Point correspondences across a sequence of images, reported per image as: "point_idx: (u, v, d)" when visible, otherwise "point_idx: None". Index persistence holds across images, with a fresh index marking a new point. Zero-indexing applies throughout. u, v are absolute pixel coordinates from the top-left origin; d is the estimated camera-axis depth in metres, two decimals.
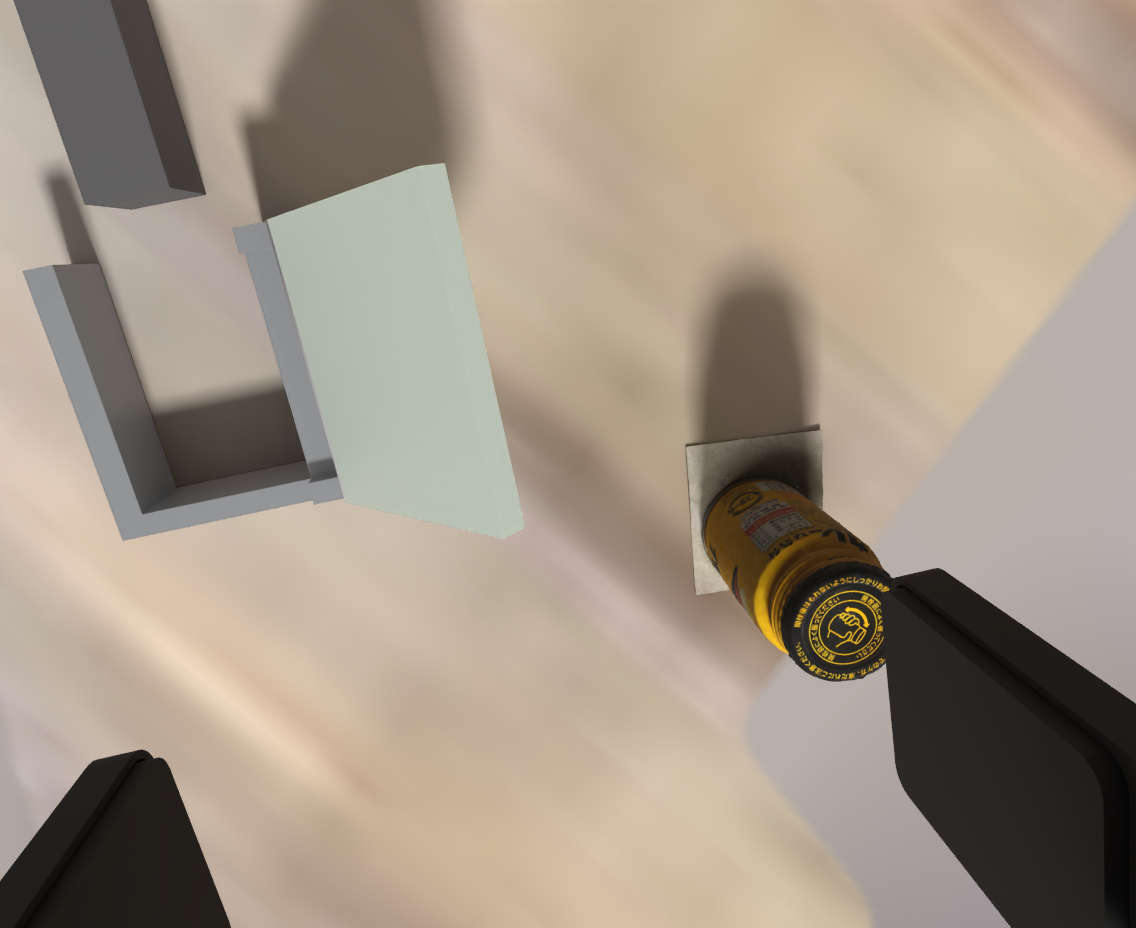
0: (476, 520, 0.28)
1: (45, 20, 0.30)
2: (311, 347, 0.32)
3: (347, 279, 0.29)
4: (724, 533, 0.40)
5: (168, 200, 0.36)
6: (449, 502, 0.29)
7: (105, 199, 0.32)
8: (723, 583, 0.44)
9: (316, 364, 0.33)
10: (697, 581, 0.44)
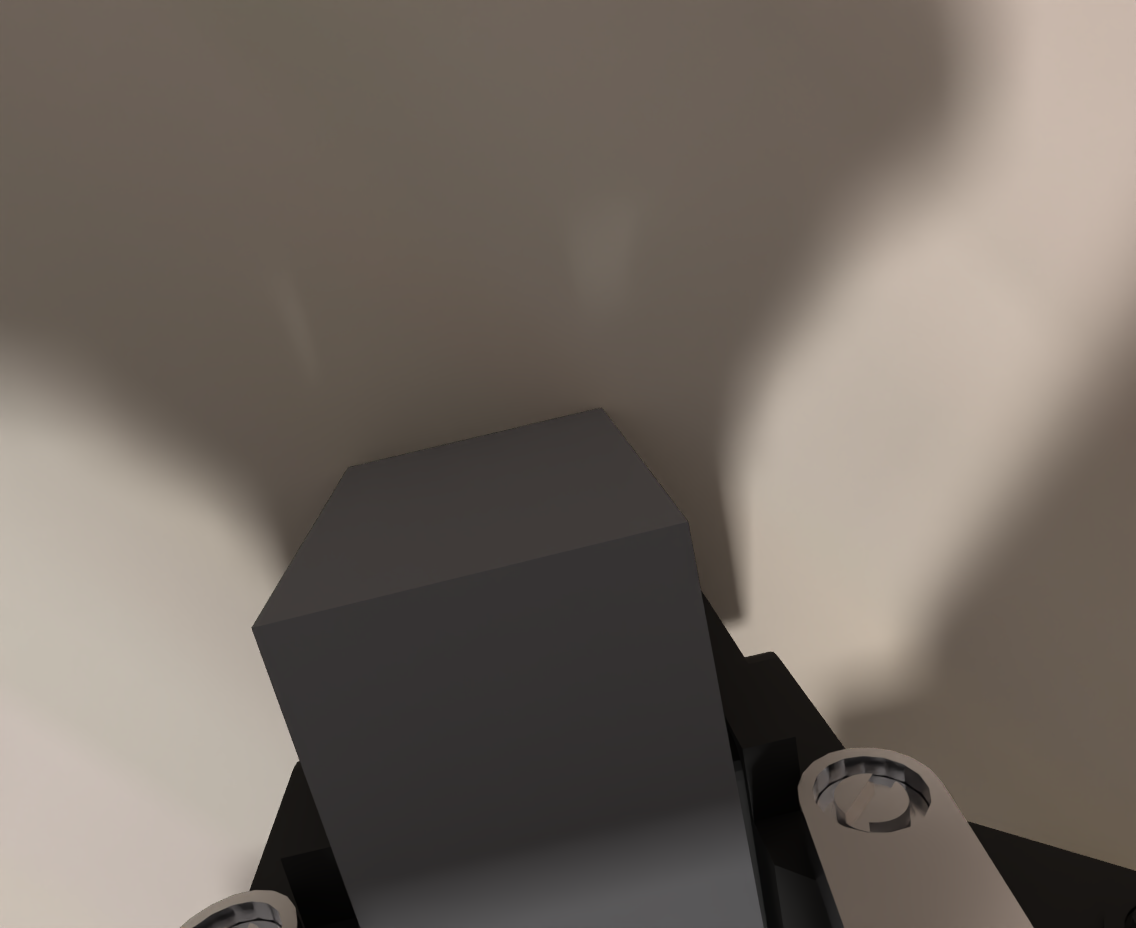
0: None
1: (415, 756, 0.06)
2: None
3: None
4: None
5: None
6: None
7: None
8: None
9: None
10: None
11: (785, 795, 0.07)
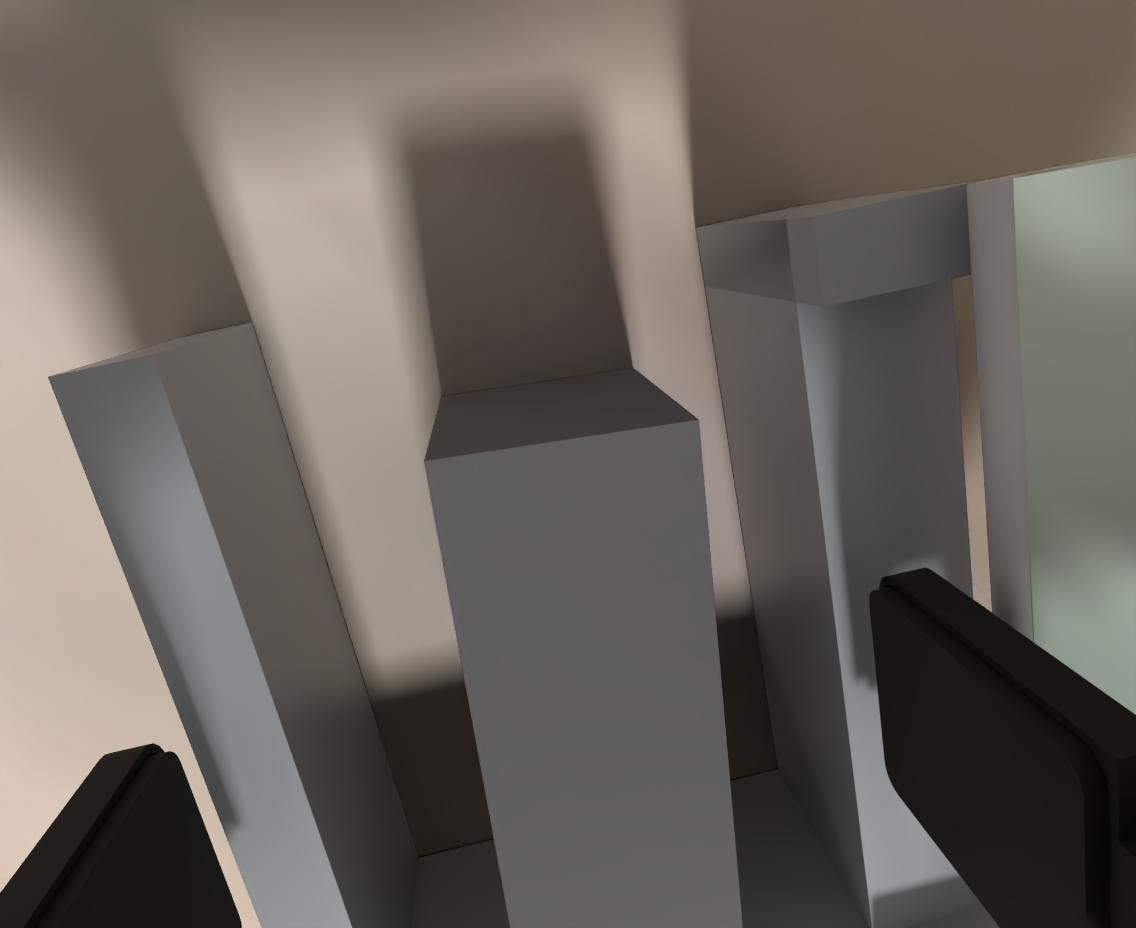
0: None
1: (512, 557, 0.10)
2: (1106, 649, 0.09)
3: None
4: None
5: None
6: None
7: None
8: None
9: None
10: None
11: None
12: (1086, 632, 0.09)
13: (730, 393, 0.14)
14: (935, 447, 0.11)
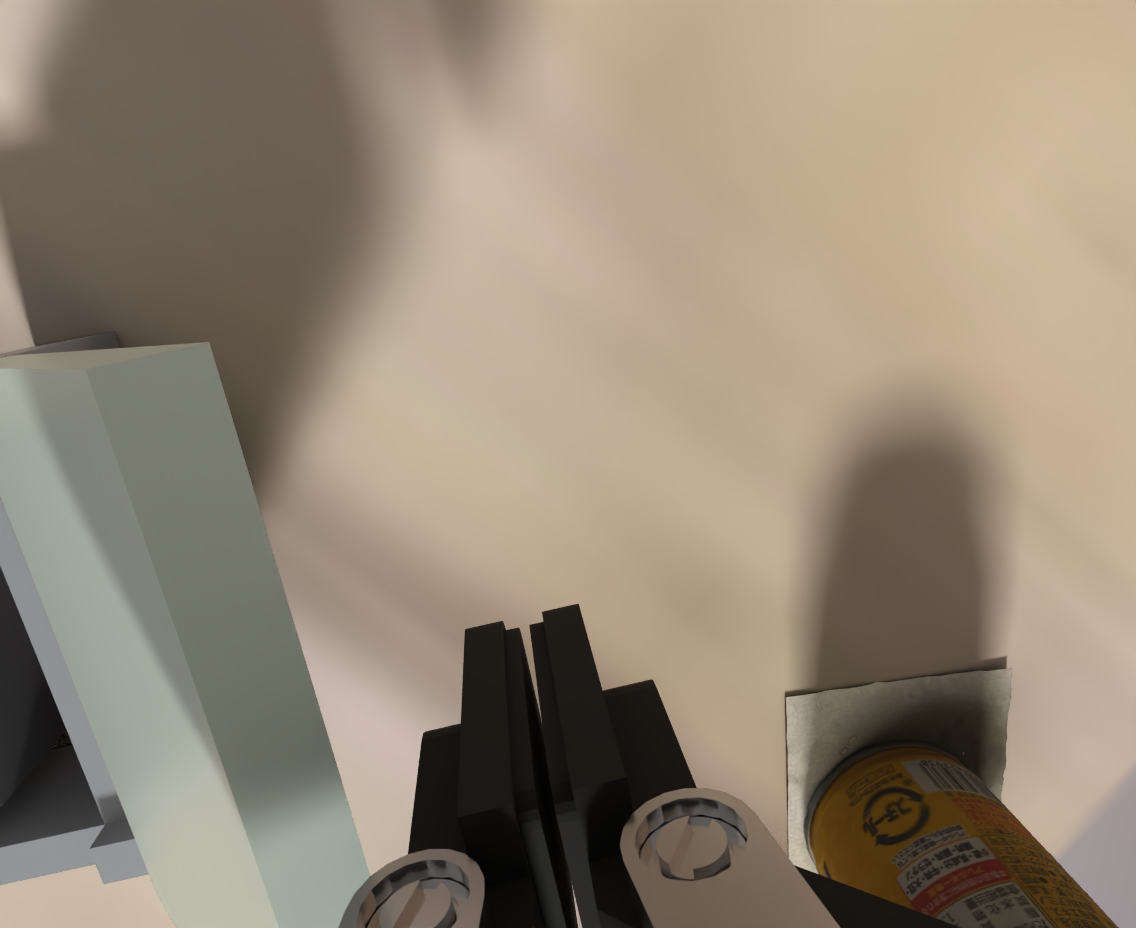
0: None
1: None
2: (57, 632, 0.15)
3: (60, 559, 0.12)
4: (860, 873, 0.23)
5: None
6: None
7: None
8: None
9: (70, 664, 0.15)
10: None
11: (620, 836, 0.07)
12: (53, 622, 0.15)
13: None
14: None
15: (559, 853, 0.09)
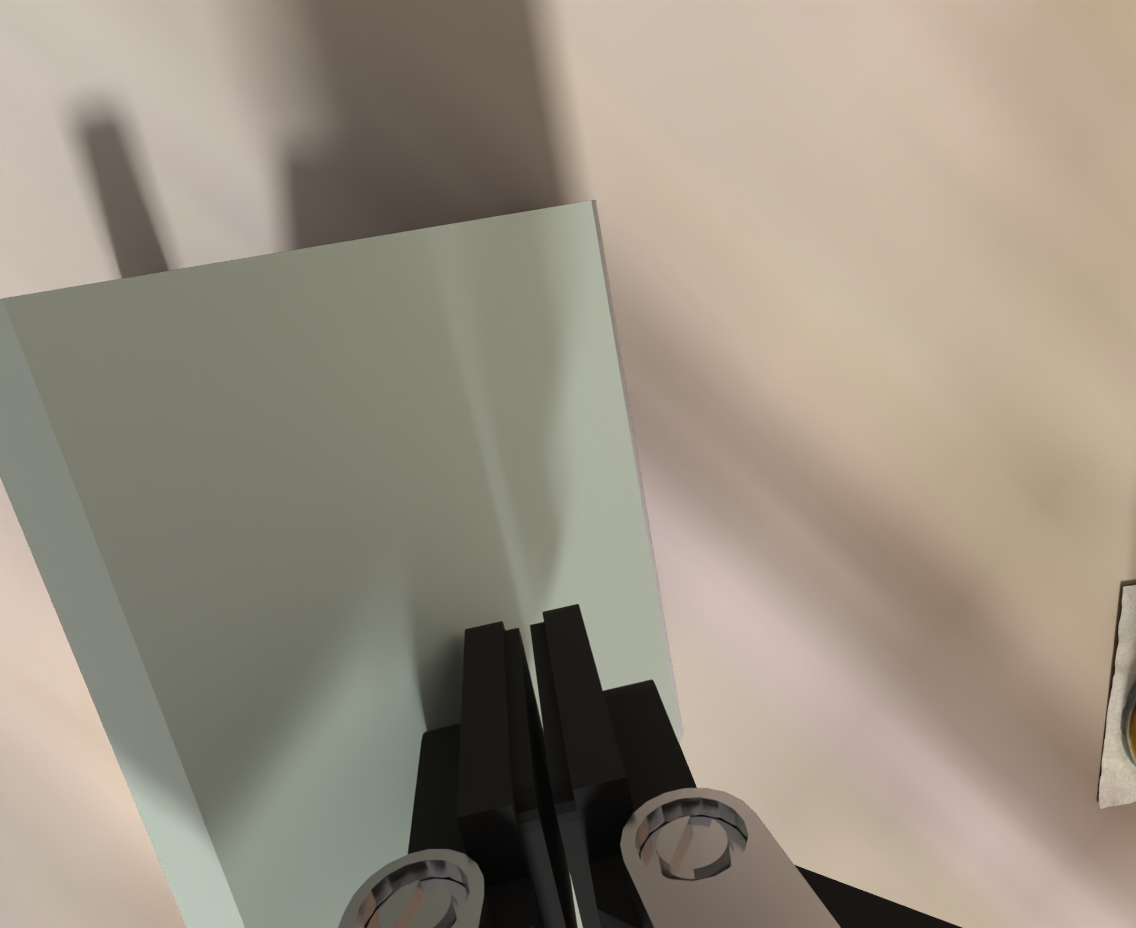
0: None
1: None
2: None
3: None
4: None
5: None
6: None
7: None
8: None
9: None
10: (1103, 788, 0.28)
11: (620, 836, 0.07)
12: None
13: None
14: None
15: (559, 853, 0.09)
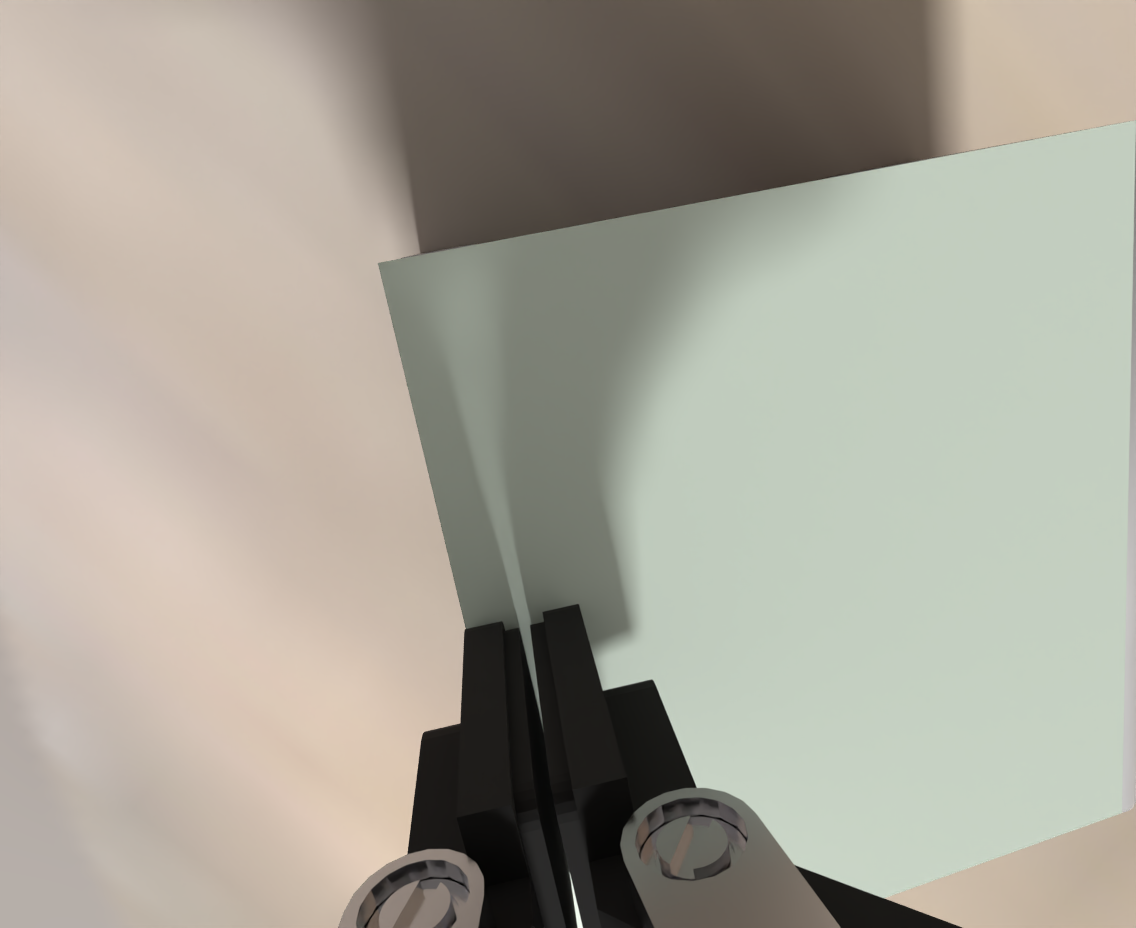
0: None
1: None
2: None
3: None
4: None
5: None
6: None
7: None
8: None
9: None
10: None
11: (620, 836, 0.07)
12: None
13: None
14: None
15: (559, 853, 0.09)
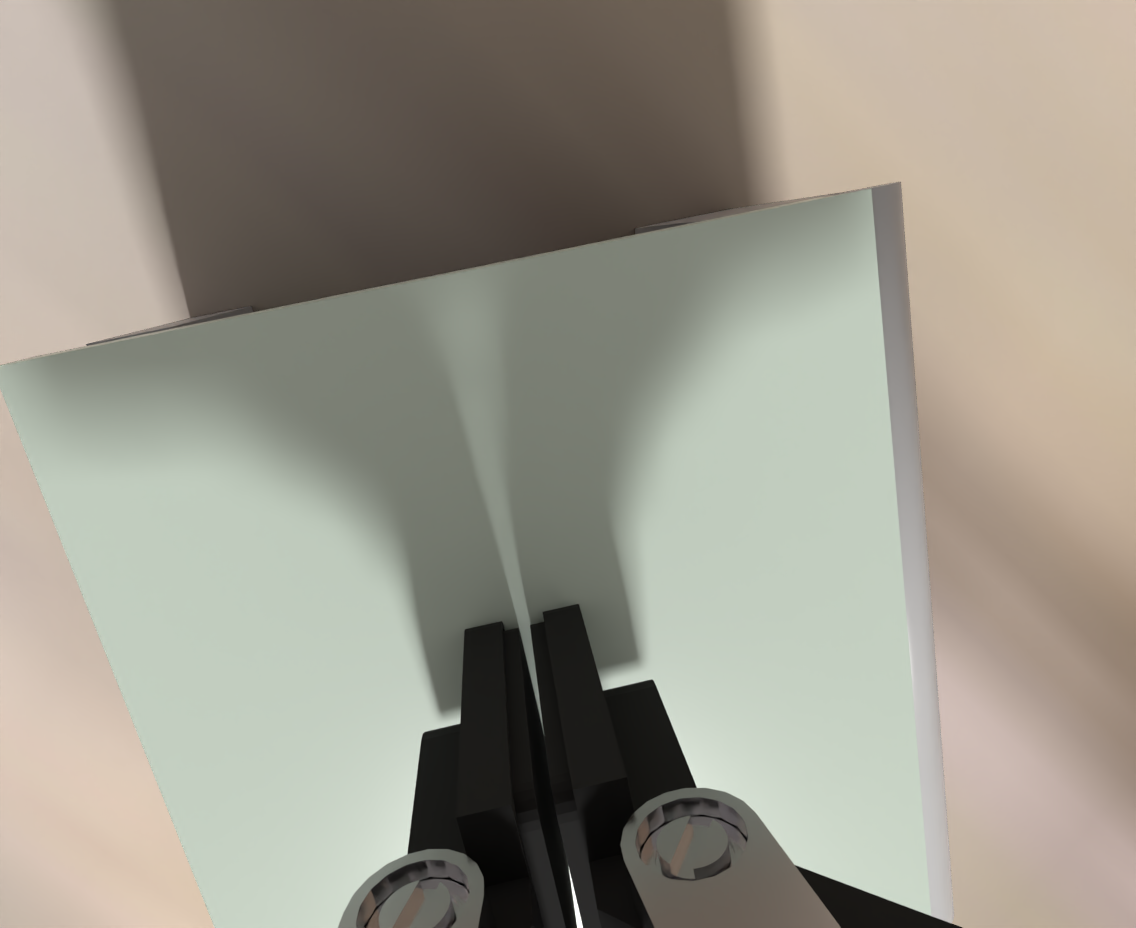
0: None
1: None
2: None
3: None
4: None
5: None
6: None
7: None
8: None
9: None
10: None
11: (620, 835, 0.07)
12: None
13: None
14: None
15: (558, 853, 0.09)
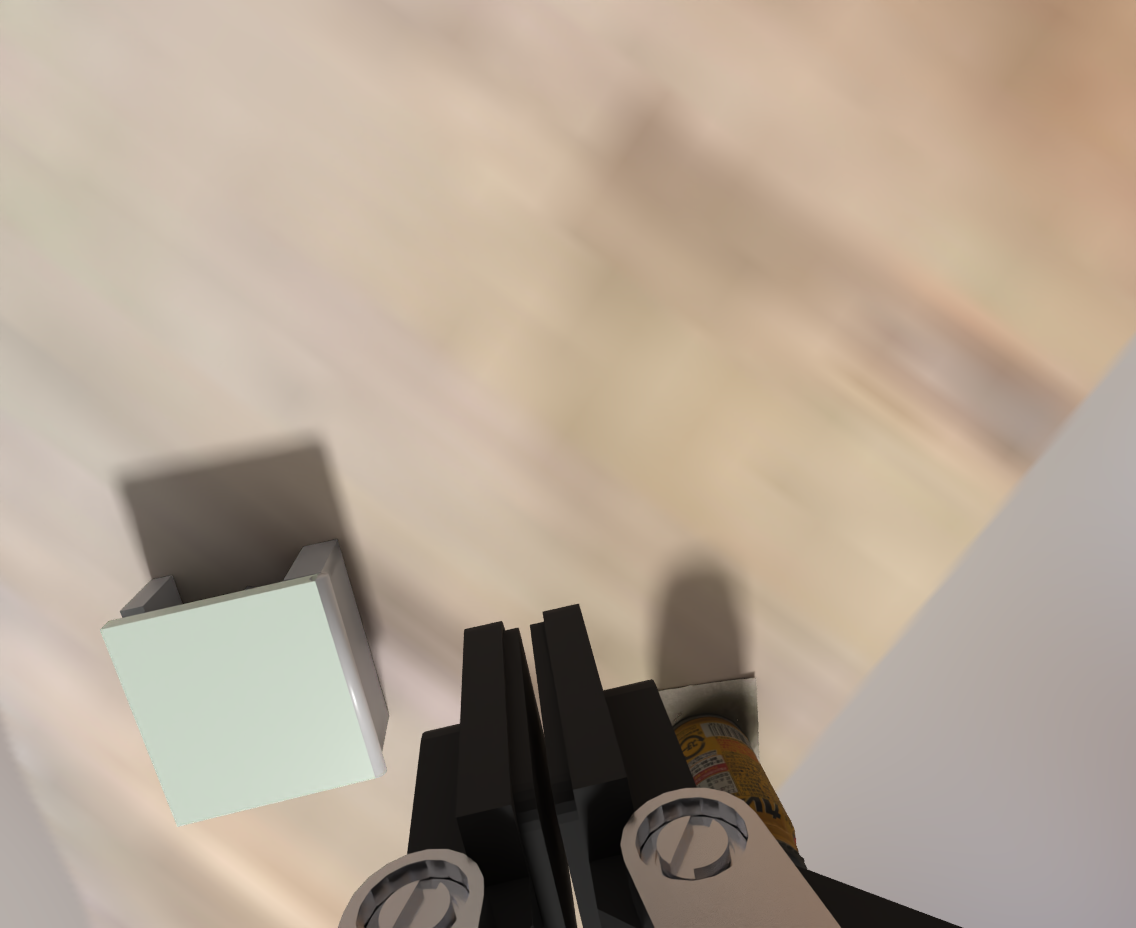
0: None
1: None
2: None
3: None
4: None
5: None
6: None
7: None
8: None
9: None
10: None
11: (620, 835, 0.07)
12: None
13: None
14: None
15: (558, 853, 0.09)
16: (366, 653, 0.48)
